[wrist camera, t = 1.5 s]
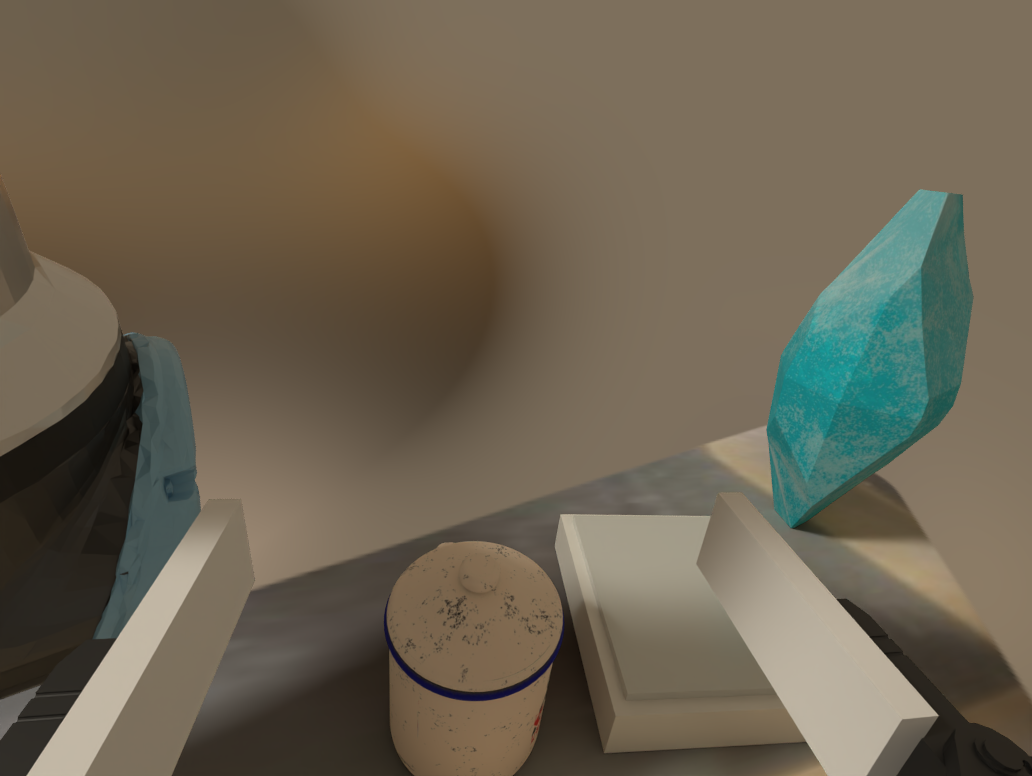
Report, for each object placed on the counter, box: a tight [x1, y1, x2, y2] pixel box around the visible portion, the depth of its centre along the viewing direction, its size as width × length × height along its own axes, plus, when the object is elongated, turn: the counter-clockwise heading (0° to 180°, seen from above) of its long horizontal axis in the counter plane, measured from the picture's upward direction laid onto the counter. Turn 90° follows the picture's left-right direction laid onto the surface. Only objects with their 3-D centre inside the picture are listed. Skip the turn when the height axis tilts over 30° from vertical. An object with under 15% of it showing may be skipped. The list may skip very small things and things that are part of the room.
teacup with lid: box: [384, 541, 564, 776], centre depth 28 cm, size 12×9×12 cm
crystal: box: [767, 190, 973, 528], centre depth 43 cm, size 12×14×30 cm
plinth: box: [555, 514, 806, 753], centre depth 36 cm, size 16×16×4 cm
